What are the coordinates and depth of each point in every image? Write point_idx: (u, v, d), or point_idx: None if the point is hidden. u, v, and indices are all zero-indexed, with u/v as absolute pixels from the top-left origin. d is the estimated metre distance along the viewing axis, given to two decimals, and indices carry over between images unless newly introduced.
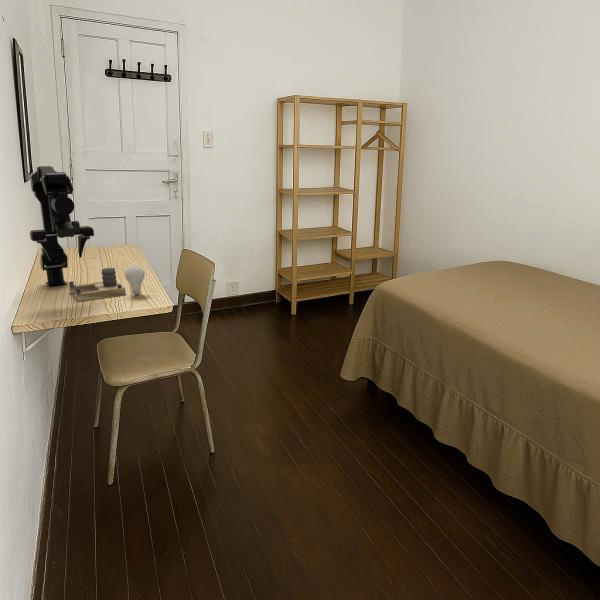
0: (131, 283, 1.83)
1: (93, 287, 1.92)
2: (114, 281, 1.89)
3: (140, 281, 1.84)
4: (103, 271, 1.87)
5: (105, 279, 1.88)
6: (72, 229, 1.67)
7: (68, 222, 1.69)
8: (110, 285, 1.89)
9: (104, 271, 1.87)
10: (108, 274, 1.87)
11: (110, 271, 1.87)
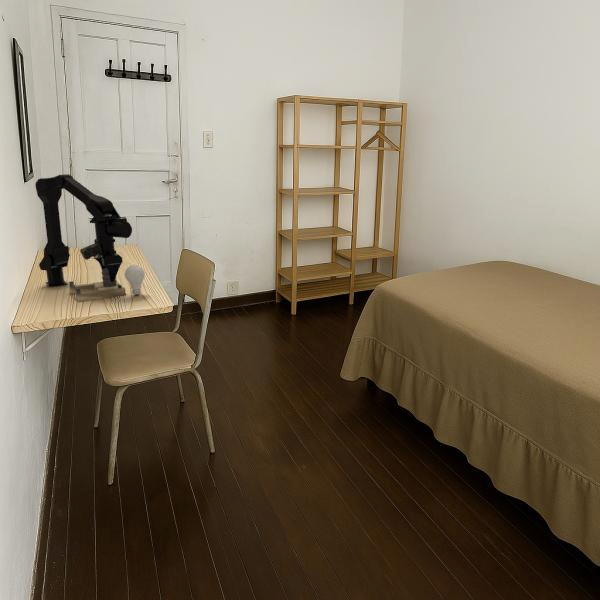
0: (131, 283, 1.83)
1: (93, 287, 1.92)
2: (114, 281, 1.89)
3: (140, 281, 1.84)
4: (103, 271, 1.87)
5: (105, 279, 1.88)
6: (82, 253, 1.81)
7: (92, 246, 1.83)
8: (110, 285, 1.89)
9: (104, 271, 1.87)
10: (108, 274, 1.87)
11: None
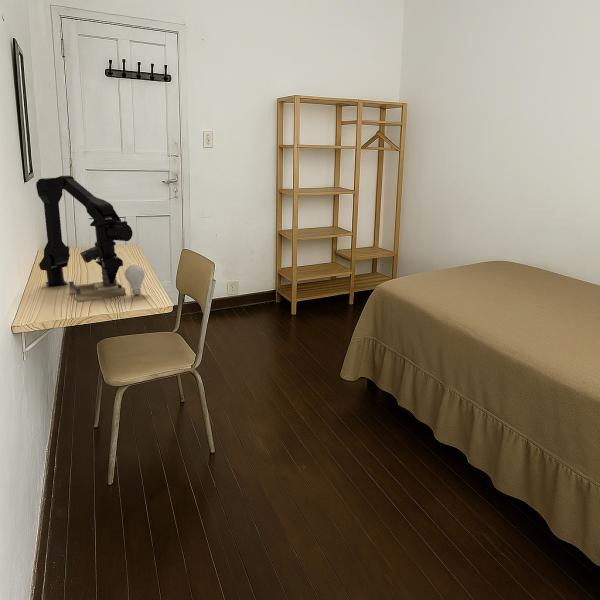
0: (131, 283, 1.83)
1: (93, 287, 1.92)
2: (114, 281, 1.89)
3: (140, 281, 1.84)
4: (103, 271, 1.87)
5: (105, 279, 1.88)
6: (83, 256, 1.82)
7: (93, 249, 1.83)
8: (110, 285, 1.89)
9: (104, 271, 1.87)
10: None
11: None
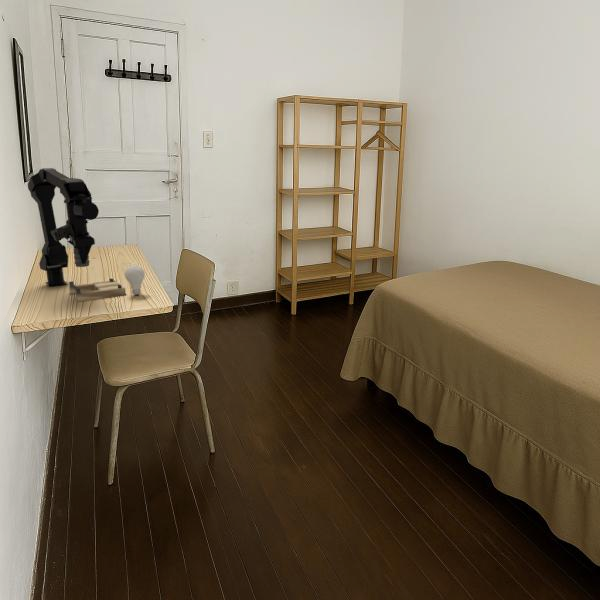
0: (131, 283, 1.83)
1: (93, 287, 1.92)
2: (87, 261, 1.83)
3: (140, 281, 1.84)
4: (75, 250, 1.81)
5: (77, 259, 1.81)
6: (53, 234, 1.75)
7: (64, 227, 1.76)
8: (82, 265, 1.82)
9: (76, 250, 1.80)
10: None
11: None
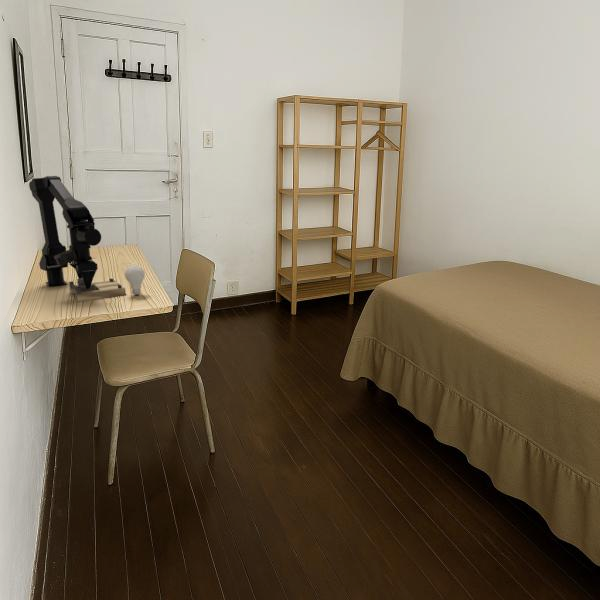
0: (131, 283, 1.83)
1: (93, 287, 1.92)
2: None
3: (140, 281, 1.84)
4: (79, 281, 1.84)
5: (81, 289, 1.84)
6: (56, 259, 1.77)
7: (67, 252, 1.79)
8: None
9: (80, 281, 1.83)
10: (84, 284, 1.84)
11: None
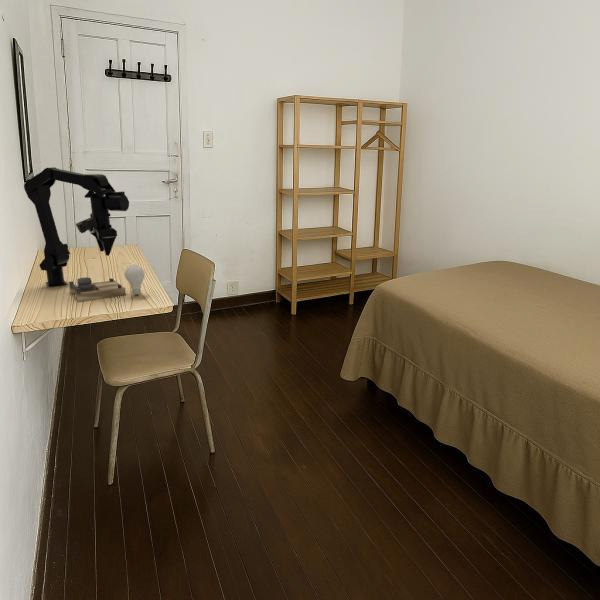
0: (131, 283, 1.83)
1: (93, 287, 1.92)
2: None
3: (140, 281, 1.84)
4: (79, 281, 1.84)
5: (81, 289, 1.84)
6: (78, 226, 1.85)
7: (88, 220, 1.86)
8: None
9: (80, 281, 1.83)
10: (84, 284, 1.84)
11: (86, 281, 1.84)
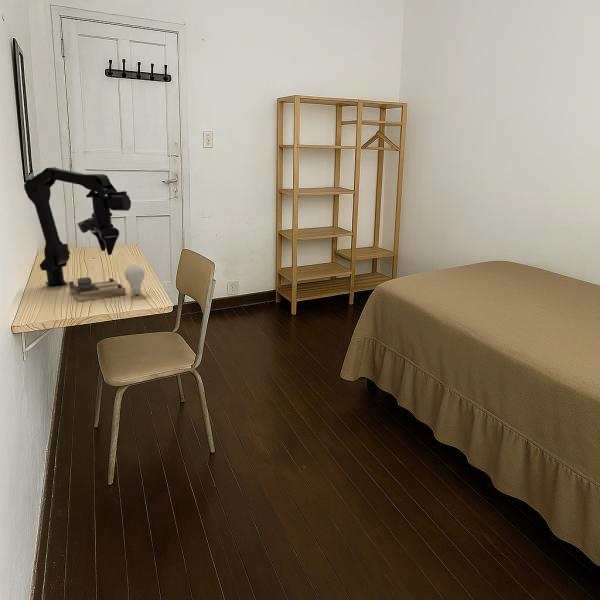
0: (131, 283, 1.83)
1: (93, 287, 1.92)
2: None
3: (140, 281, 1.84)
4: (79, 281, 1.84)
5: (81, 289, 1.84)
6: (80, 226, 1.85)
7: (90, 220, 1.87)
8: None
9: (80, 281, 1.83)
10: (84, 284, 1.84)
11: (86, 281, 1.84)
